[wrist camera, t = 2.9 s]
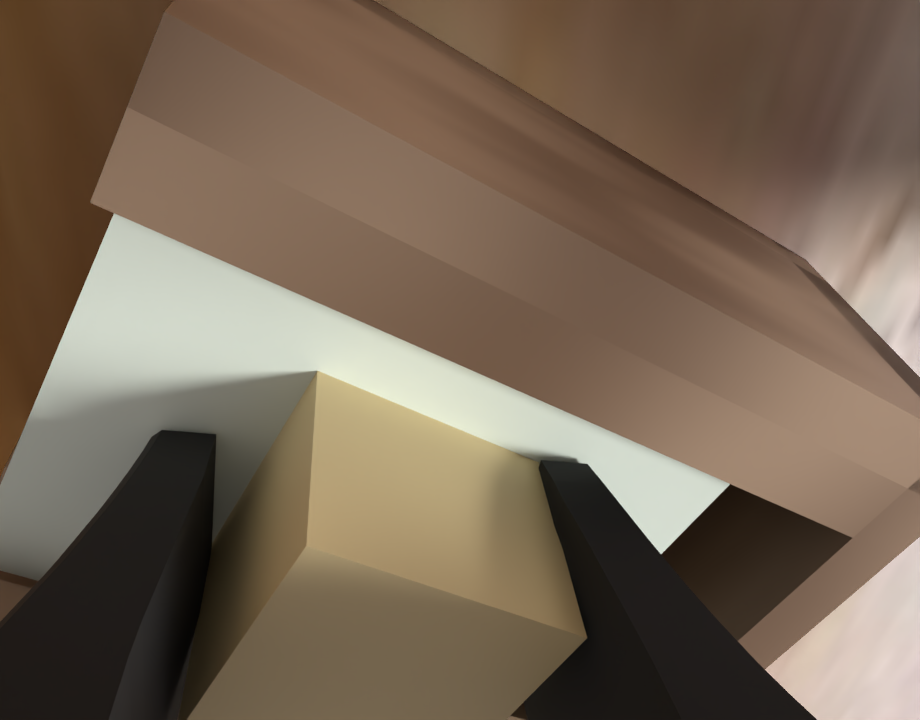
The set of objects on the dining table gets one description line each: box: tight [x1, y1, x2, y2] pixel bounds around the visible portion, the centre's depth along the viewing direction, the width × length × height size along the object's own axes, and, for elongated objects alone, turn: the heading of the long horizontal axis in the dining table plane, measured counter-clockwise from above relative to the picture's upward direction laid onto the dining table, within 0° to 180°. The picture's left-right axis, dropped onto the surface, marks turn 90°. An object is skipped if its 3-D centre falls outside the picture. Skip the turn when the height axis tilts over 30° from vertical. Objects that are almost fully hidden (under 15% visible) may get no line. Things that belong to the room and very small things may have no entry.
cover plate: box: [0, 213, 730, 720], centre depth 10 cm, size 8×6×4 cm
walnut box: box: [0, 0, 920, 720], centre depth 12 cm, size 10×9×5 cm
